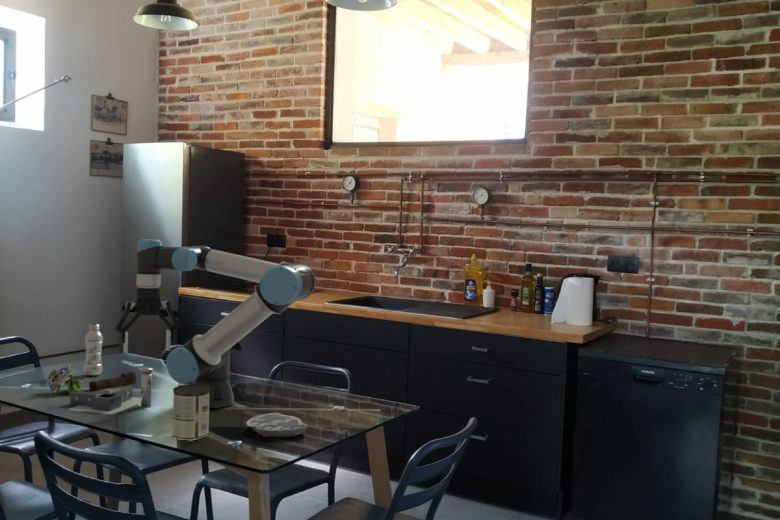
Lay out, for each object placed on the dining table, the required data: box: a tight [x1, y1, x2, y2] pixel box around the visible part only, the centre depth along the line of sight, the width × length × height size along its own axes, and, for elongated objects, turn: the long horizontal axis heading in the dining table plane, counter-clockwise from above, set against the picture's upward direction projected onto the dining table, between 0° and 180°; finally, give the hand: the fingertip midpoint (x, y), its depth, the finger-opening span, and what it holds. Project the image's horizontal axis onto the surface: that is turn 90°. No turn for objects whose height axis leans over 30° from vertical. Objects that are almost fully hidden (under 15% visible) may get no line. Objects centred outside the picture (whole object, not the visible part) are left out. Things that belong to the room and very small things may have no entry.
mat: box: [68, 396, 141, 416], centre depth 237 cm, size 16×21×1 cm
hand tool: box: [88, 371, 137, 392], centre depth 261 cm, size 19×4×5 cm, turn 146°
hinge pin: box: [140, 366, 154, 409], centre depth 236 cm, size 4×4×13 cm
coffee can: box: [172, 383, 210, 442], centre depth 208 cm, size 10×10×14 cm
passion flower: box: [46, 364, 88, 396], centre depth 250 cm, size 11×11×12 cm
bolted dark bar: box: [111, 385, 133, 402], centre depth 240 cm, size 1×10×4 cm, turn 167°
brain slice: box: [245, 412, 309, 435], centre depth 216 cm, size 20×17×3 cm
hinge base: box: [69, 391, 121, 411], centre depth 233 cm, size 16×6×4 cm, turn 77°
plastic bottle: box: [83, 323, 104, 377], centre depth 277 cm, size 6×7×20 cm
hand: (147, 351), depth 235 cm, fingers open, 13 cm apart
